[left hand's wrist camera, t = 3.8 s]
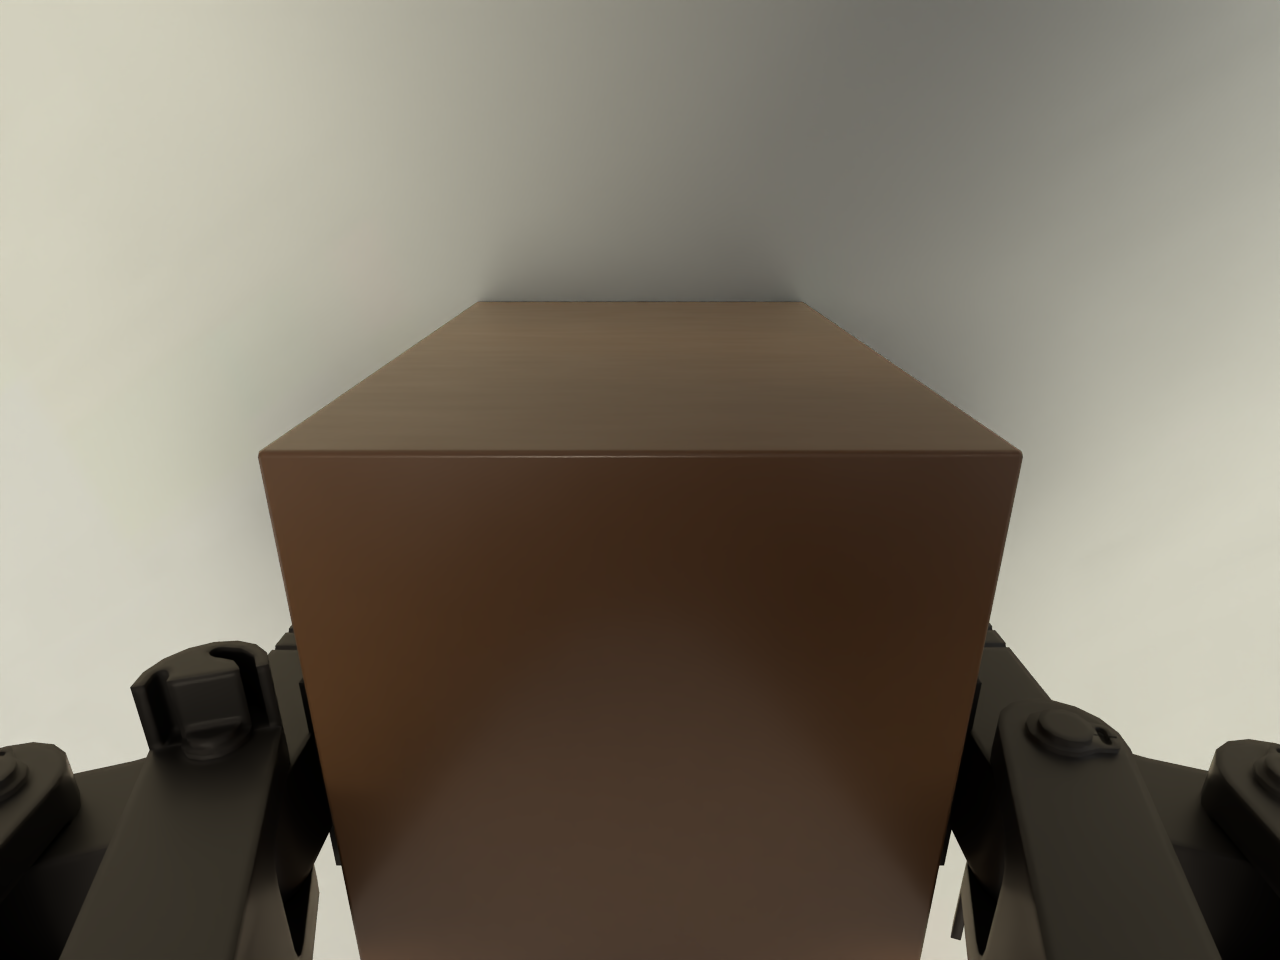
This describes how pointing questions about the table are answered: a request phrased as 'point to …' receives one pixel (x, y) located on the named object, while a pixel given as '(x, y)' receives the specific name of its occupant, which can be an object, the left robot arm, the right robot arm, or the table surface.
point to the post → (640, 633)
